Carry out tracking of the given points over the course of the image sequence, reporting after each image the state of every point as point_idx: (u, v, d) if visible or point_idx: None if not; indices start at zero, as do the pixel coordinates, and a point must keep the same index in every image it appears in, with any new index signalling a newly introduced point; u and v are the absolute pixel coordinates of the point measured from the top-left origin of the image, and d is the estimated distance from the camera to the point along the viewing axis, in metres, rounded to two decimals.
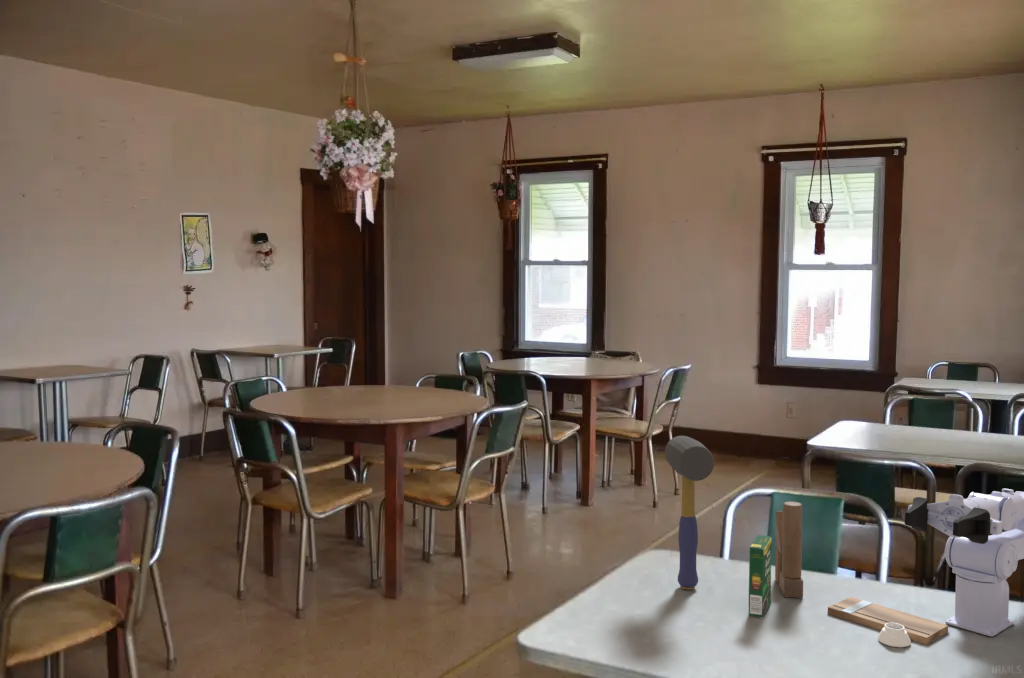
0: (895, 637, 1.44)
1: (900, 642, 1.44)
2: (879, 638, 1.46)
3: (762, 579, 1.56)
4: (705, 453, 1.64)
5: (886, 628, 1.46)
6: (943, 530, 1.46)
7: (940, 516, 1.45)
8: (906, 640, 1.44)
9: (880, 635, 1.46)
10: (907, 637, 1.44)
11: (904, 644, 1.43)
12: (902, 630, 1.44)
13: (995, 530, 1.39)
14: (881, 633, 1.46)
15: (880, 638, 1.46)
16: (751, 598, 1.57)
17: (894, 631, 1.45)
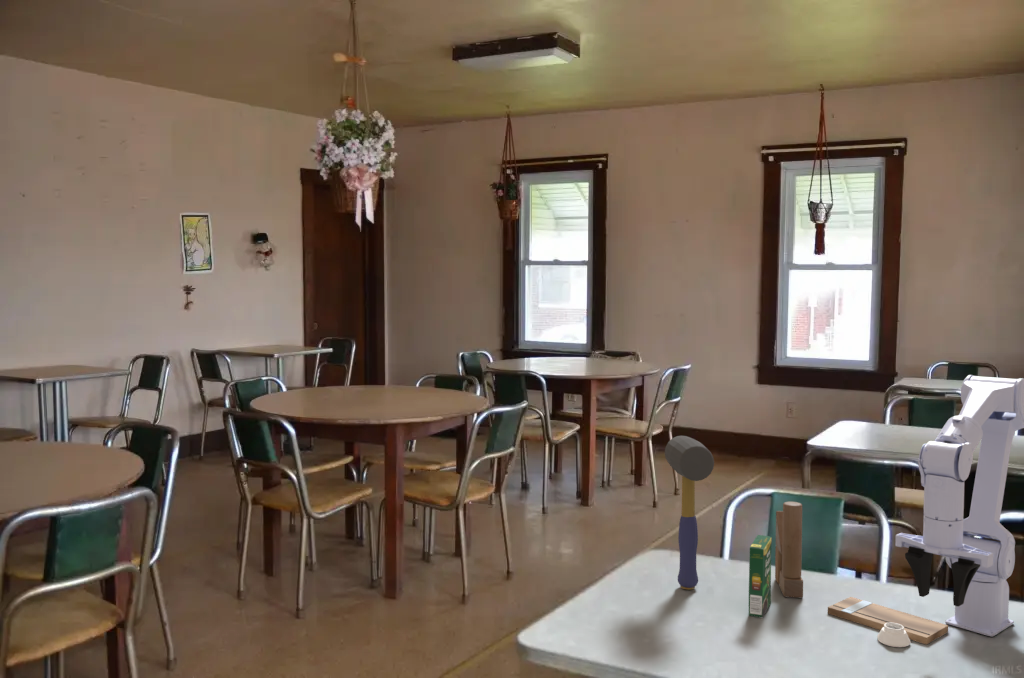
0: (894, 637, 1.44)
1: (900, 642, 1.44)
2: (878, 638, 1.46)
3: (762, 579, 1.56)
4: (705, 453, 1.64)
5: (885, 628, 1.46)
6: None
7: (931, 552, 1.40)
8: (905, 640, 1.44)
9: (879, 635, 1.46)
10: (906, 637, 1.44)
11: (903, 644, 1.44)
12: (901, 630, 1.44)
13: None
14: (880, 633, 1.46)
15: (880, 638, 1.46)
16: (751, 598, 1.57)
17: (893, 631, 1.45)
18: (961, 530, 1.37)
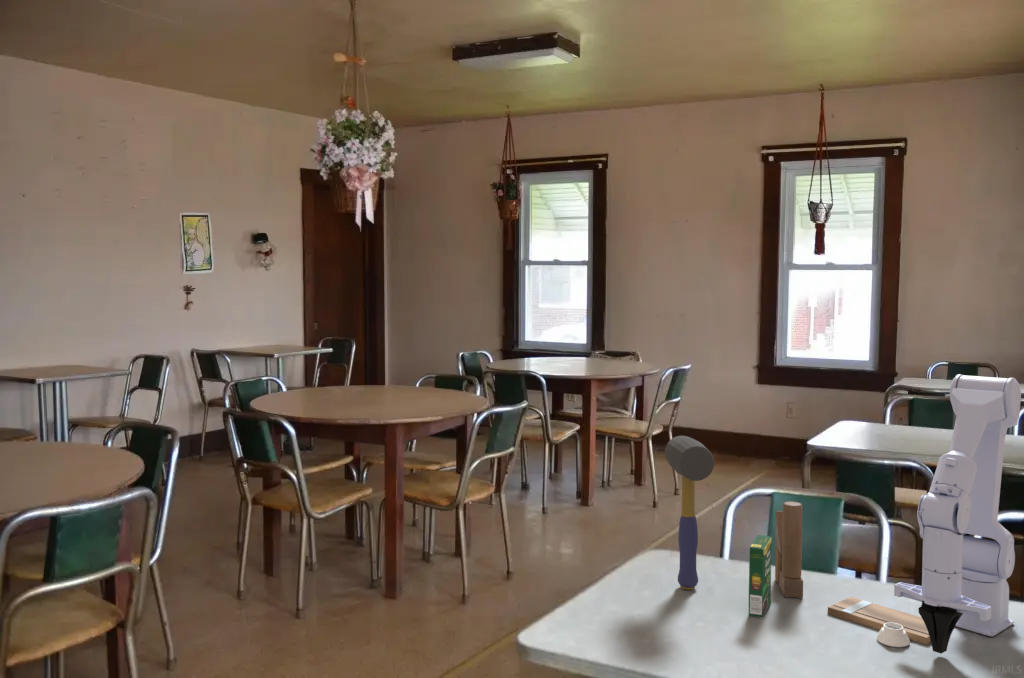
0: (894, 637, 1.44)
1: (899, 641, 1.44)
2: (878, 638, 1.46)
3: (762, 579, 1.56)
4: (705, 453, 1.64)
5: (885, 628, 1.46)
6: None
7: None
8: (904, 640, 1.44)
9: (879, 635, 1.46)
10: (906, 637, 1.44)
11: (903, 644, 1.44)
12: (901, 630, 1.44)
13: None
14: (880, 633, 1.46)
15: (879, 638, 1.46)
16: (751, 598, 1.57)
17: (893, 631, 1.45)
18: (960, 582, 1.37)
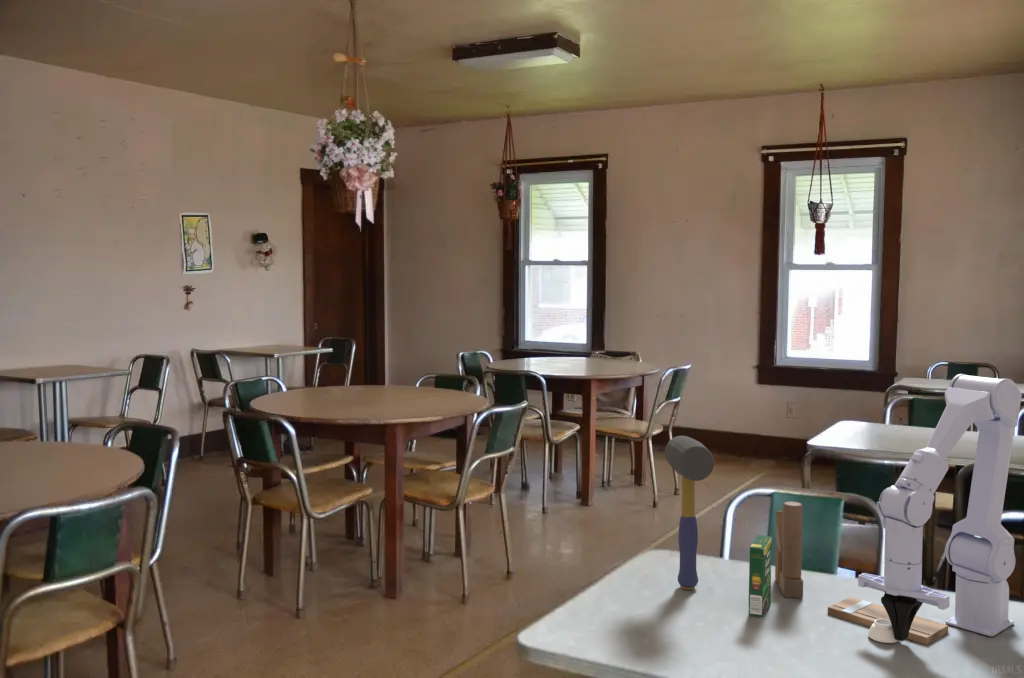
0: (884, 633, 1.45)
1: (890, 637, 1.45)
2: (869, 634, 1.47)
3: (762, 579, 1.56)
4: (705, 453, 1.64)
5: (876, 624, 1.47)
6: None
7: None
8: None
9: (870, 631, 1.47)
10: None
11: (893, 640, 1.45)
12: (891, 626, 1.46)
13: None
14: (871, 629, 1.47)
15: (870, 634, 1.47)
16: (751, 598, 1.57)
17: (883, 627, 1.46)
18: (920, 573, 1.42)
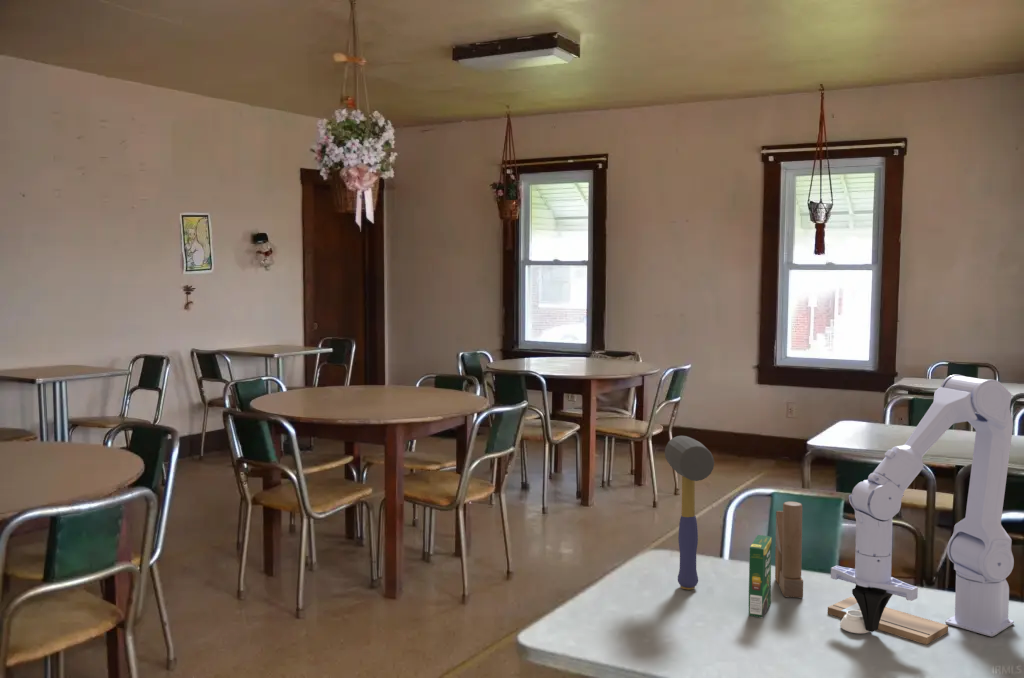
0: (855, 624, 1.49)
1: (861, 628, 1.49)
2: (841, 625, 1.51)
3: (762, 579, 1.56)
4: (705, 453, 1.64)
5: (847, 615, 1.51)
6: None
7: None
8: None
9: (842, 622, 1.51)
10: None
11: (864, 630, 1.49)
12: None
13: None
14: (843, 620, 1.51)
15: (842, 624, 1.51)
16: (751, 598, 1.57)
17: (855, 618, 1.50)
18: (889, 565, 1.46)
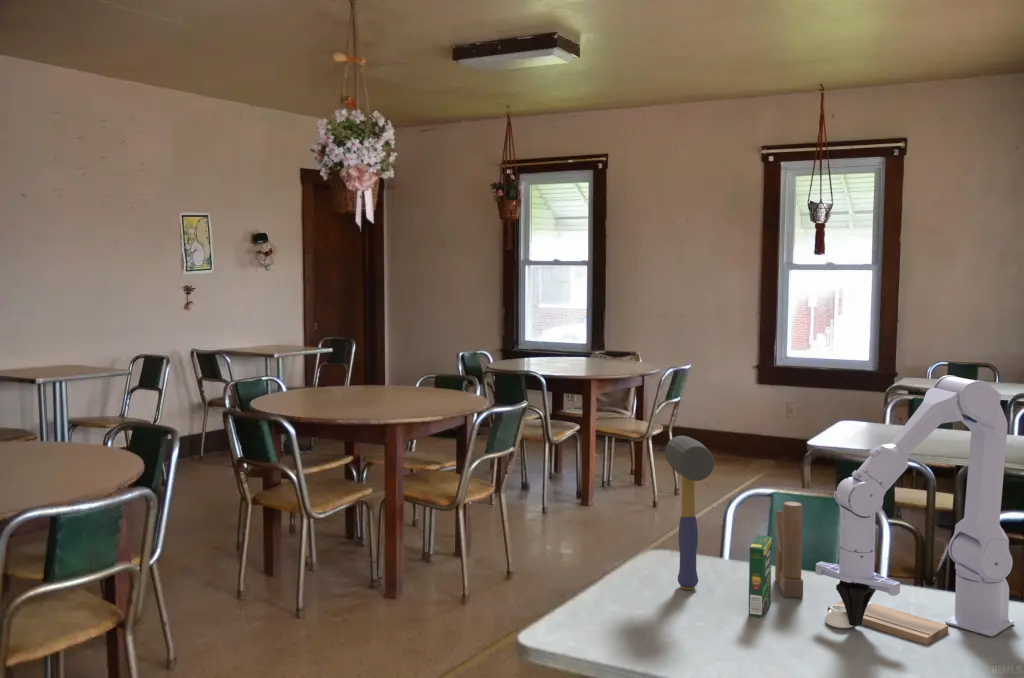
0: (839, 619, 1.51)
1: (844, 623, 1.51)
2: (825, 619, 1.54)
3: (762, 579, 1.56)
4: (705, 453, 1.64)
5: (832, 610, 1.53)
6: None
7: None
8: None
9: (826, 617, 1.54)
10: None
11: (848, 625, 1.51)
12: (846, 612, 1.52)
13: None
14: (827, 615, 1.54)
15: (826, 619, 1.53)
16: (751, 598, 1.57)
17: (839, 613, 1.52)
18: (872, 561, 1.48)
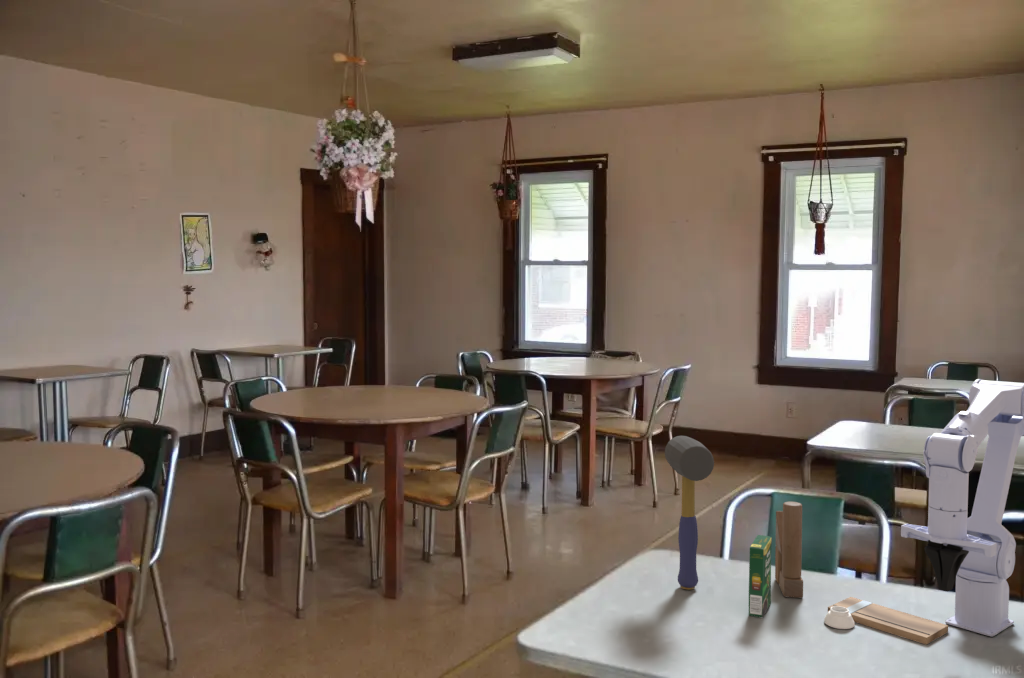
0: (839, 620, 1.52)
1: (844, 624, 1.51)
2: (825, 620, 1.54)
3: (762, 579, 1.56)
4: (705, 453, 1.64)
5: (831, 611, 1.53)
6: None
7: (935, 542, 1.43)
8: (849, 622, 1.52)
9: (826, 618, 1.54)
10: (851, 619, 1.52)
11: (847, 626, 1.51)
12: (846, 613, 1.52)
13: None
14: (827, 616, 1.54)
15: (826, 620, 1.53)
16: (751, 598, 1.57)
17: (838, 614, 1.52)
18: (965, 520, 1.39)
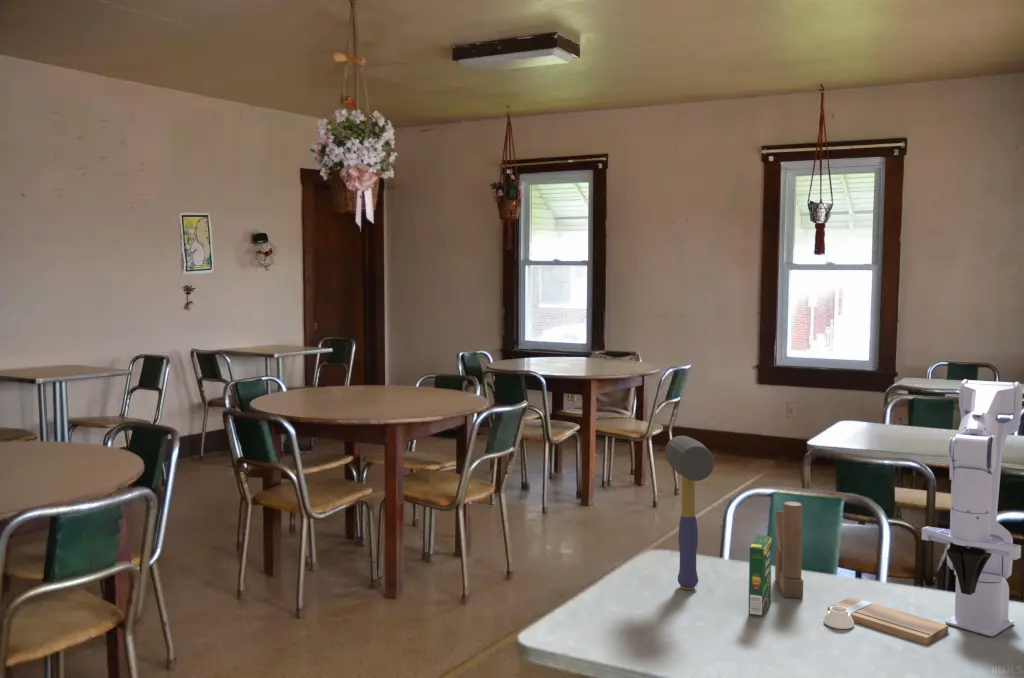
0: (838, 619, 1.52)
1: (843, 624, 1.51)
2: (824, 620, 1.54)
3: (762, 579, 1.56)
4: (705, 453, 1.64)
5: (831, 611, 1.53)
6: None
7: None
8: (849, 622, 1.52)
9: (825, 617, 1.54)
10: (850, 619, 1.52)
11: (847, 626, 1.51)
12: (845, 613, 1.52)
13: None
14: (826, 616, 1.54)
15: (825, 620, 1.53)
16: (751, 598, 1.57)
17: (838, 614, 1.52)
18: (989, 523, 1.37)
